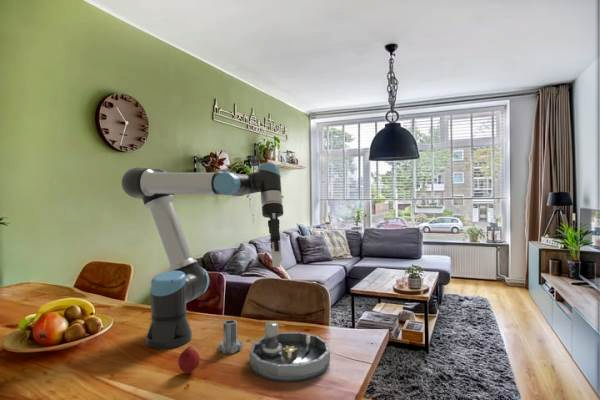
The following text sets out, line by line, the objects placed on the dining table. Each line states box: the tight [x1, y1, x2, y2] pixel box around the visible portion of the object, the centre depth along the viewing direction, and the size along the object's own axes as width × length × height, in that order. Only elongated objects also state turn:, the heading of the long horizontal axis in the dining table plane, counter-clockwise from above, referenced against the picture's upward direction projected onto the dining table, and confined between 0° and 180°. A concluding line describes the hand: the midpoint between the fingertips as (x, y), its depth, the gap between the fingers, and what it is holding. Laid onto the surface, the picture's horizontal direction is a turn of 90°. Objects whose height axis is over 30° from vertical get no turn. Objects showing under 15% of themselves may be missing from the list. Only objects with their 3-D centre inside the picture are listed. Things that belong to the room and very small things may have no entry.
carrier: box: [249, 321, 331, 383], centre depth 109 cm, size 24×24×10 cm
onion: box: [177, 344, 200, 374], centre depth 103 cm, size 6×6×8 cm
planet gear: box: [217, 319, 243, 355], centre depth 119 cm, size 8×8×9 cm
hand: (277, 264), depth 122 cm, fingers open, 13 cm apart
